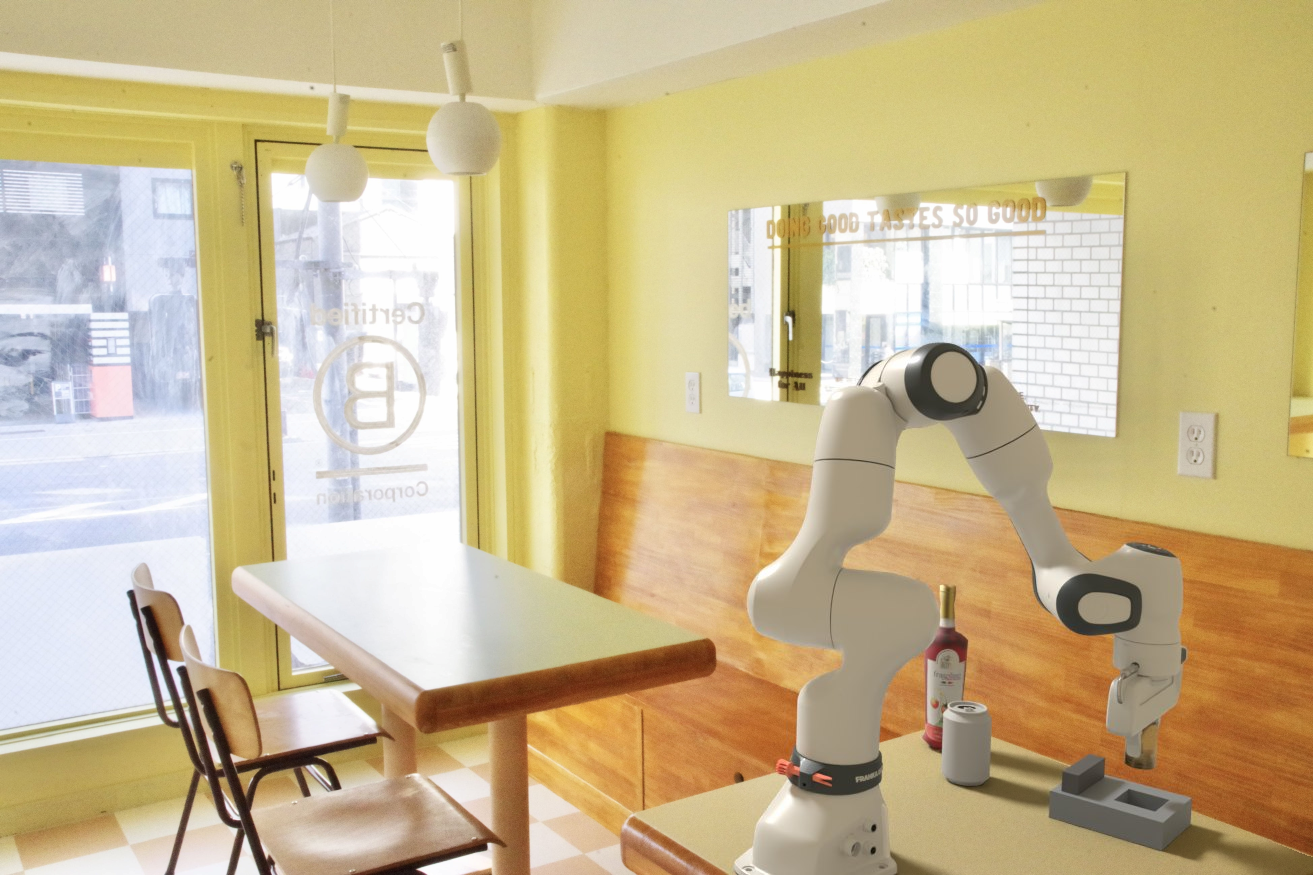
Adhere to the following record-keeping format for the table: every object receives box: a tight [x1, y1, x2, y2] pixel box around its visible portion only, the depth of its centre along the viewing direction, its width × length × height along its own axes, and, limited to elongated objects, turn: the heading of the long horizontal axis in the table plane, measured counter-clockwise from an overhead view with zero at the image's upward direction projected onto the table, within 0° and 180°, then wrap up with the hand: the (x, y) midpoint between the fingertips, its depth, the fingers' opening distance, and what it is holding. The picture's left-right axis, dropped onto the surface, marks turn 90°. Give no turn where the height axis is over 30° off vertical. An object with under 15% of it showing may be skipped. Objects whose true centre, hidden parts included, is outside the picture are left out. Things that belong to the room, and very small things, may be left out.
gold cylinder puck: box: [1123, 722, 1159, 771], centre depth 164 cm, size 4×4×6 cm
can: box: [940, 700, 993, 787], centre depth 181 cm, size 8×8×12 cm
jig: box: [1048, 753, 1193, 851], centre depth 165 cm, size 12×16×7 cm
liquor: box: [921, 584, 969, 751], centre depth 195 cm, size 7×7×28 cm
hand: (1141, 750), depth 164 cm, fingers closed on gold cylinder puck, 4 cm apart
